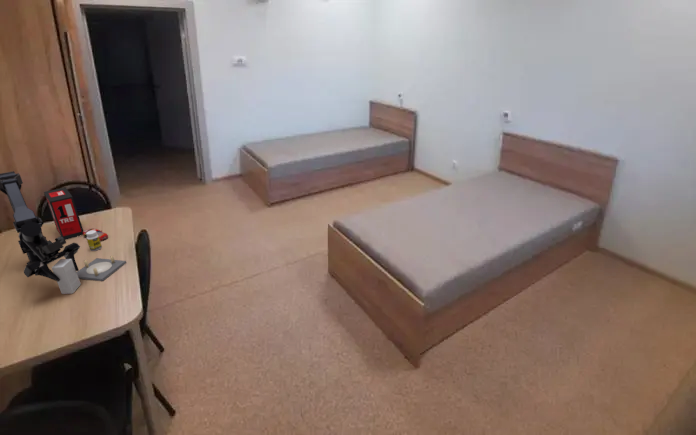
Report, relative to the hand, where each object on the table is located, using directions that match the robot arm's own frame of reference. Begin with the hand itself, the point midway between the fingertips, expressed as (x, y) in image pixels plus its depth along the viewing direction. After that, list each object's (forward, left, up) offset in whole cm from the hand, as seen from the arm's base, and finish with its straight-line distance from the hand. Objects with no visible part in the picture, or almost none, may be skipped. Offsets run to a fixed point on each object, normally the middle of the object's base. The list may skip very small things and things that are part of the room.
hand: (68, 275), depth 150 cm
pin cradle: (0, +14, -7) cm, 16 cm away
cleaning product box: (-40, +43, -7) cm, 60 cm away
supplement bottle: (-15, +30, -7) cm, 35 cm away
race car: (-23, +40, -7) cm, 47 cm away
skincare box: (-1, 0, -7) cm, 7 cm away
